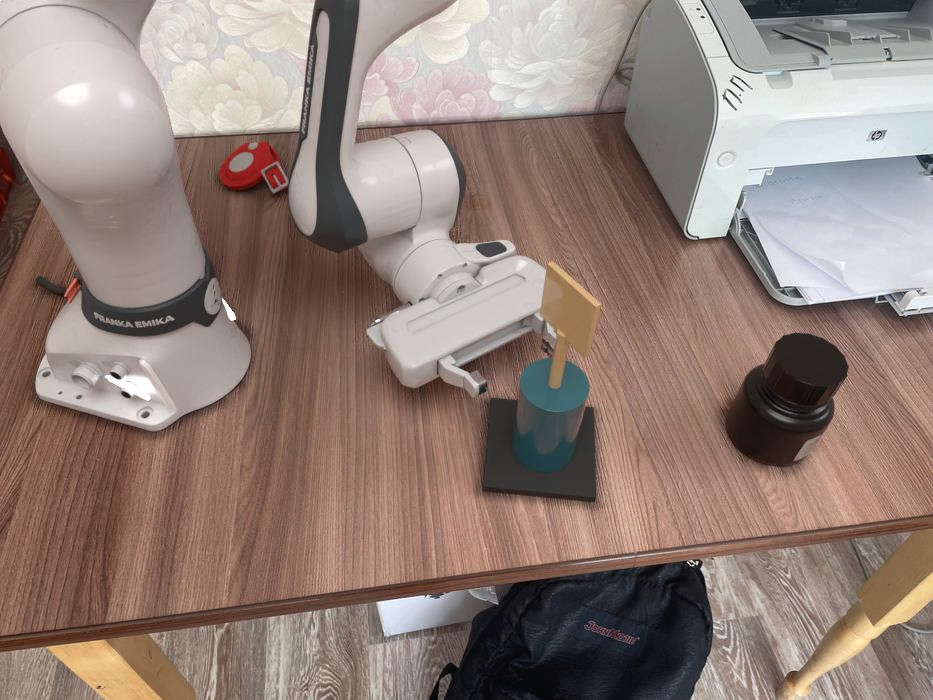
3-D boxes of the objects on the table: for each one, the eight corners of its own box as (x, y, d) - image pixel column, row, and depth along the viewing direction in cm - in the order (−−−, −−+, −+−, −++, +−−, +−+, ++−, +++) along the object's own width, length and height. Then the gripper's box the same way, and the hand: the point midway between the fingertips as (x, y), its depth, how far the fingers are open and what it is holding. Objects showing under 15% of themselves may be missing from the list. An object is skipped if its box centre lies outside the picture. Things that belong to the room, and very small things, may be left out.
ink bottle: (817, 478, 72) (870, 406, 63) (728, 464, 72) (768, 391, 63) (803, 403, 78) (849, 328, 69) (721, 391, 79) (757, 315, 70)
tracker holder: (205, 184, 100) (230, 133, 105) (222, 205, 104) (245, 154, 109) (279, 181, 96) (301, 129, 101) (293, 203, 100) (314, 151, 105)
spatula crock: (499, 438, 73) (516, 274, 56) (547, 410, 75) (578, 246, 58) (537, 483, 69) (568, 323, 52) (587, 453, 72) (631, 291, 55)
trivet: (482, 491, 70) (483, 486, 69) (491, 403, 77) (491, 397, 76) (594, 502, 69) (596, 497, 68) (592, 412, 76) (593, 407, 76)
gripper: (355, 303, 70) (429, 396, 63) (519, 233, 78) (603, 308, 71) (360, 346, 75) (430, 437, 67) (515, 276, 83) (593, 350, 75)
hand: (520, 370), depth 69 cm, fingers open, 8 cm apart
